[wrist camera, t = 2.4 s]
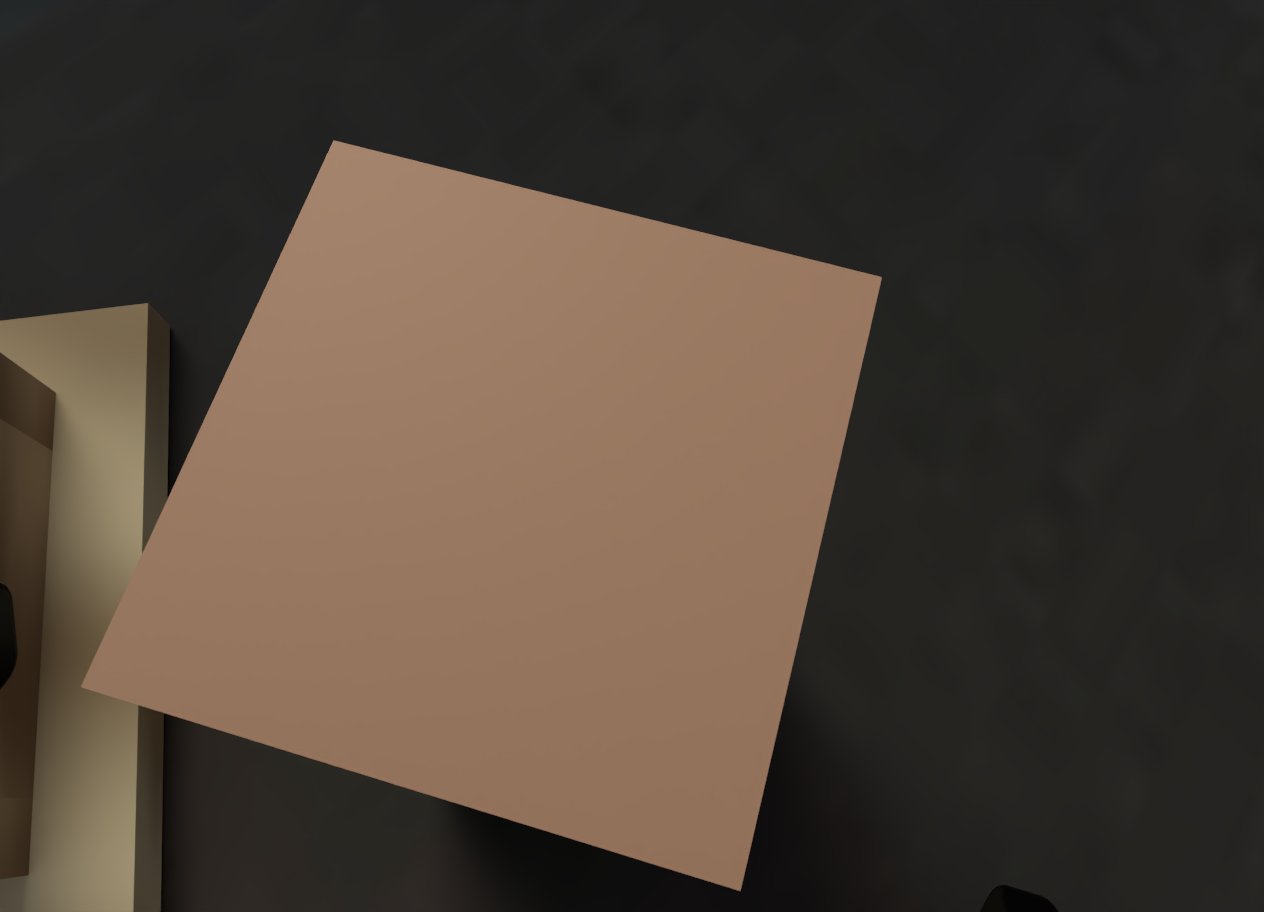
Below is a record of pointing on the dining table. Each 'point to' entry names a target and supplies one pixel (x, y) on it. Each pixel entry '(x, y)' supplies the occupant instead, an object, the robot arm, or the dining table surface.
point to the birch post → (508, 509)
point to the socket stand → (78, 606)
